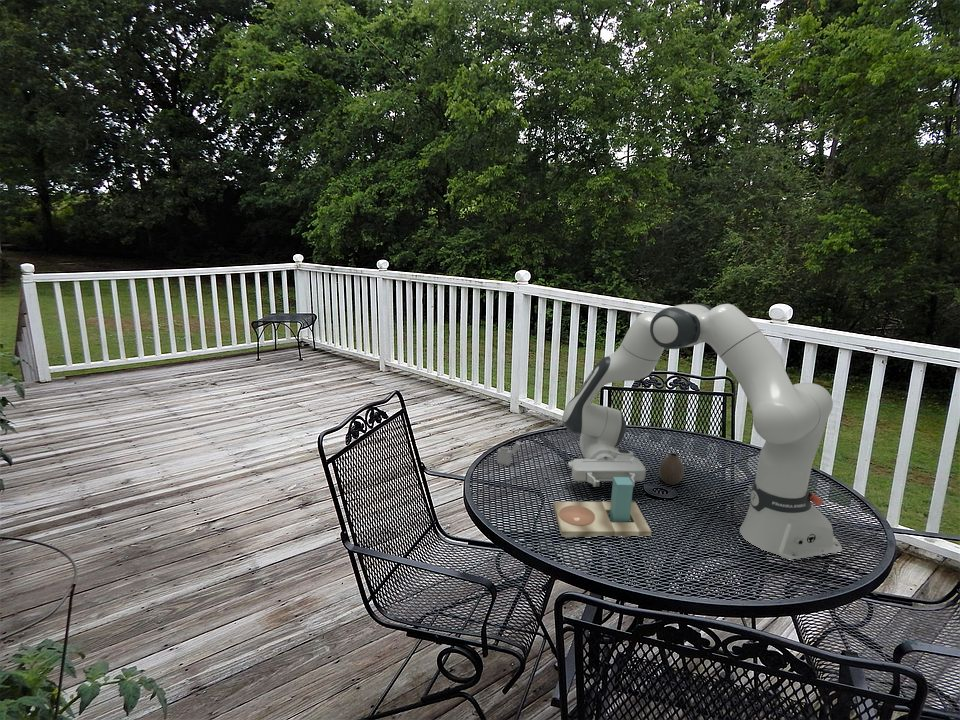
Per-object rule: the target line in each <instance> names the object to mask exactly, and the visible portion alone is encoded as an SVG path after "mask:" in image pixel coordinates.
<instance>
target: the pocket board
mask: <svg viewBox="0 0 960 720" xmlns="http://www.w3.org/2000/svg"><path fill="white" fill-rule="evenodd" d="M552 505H553V506H552V509H553V512H554V516H556V517H555V520H556V524H557V523H558V524H557V526H559V528H558V530H560V531H559V534H560V533H561V535H560V537H561V536H562V537H575V536H576V537H577V536H578V537H591V536H592V537H593V536H620V537H621V536H622V537H628V536H629V537H630V536H651V537H652V529H651V528H650V526H649V524H648V522H647V521H646V519H645V518H644V516H643V514H642V512H641V510H640V508H639V506H638V504H637V503H636V501H632V502H631V512H630V520H631V522H630V521H629V522H611V521H610V519H609V518H610V516H608V515H610V507H611V501H553V504H552ZM567 506H582V507H585V508H587V509H589V510H591V511H592V512H593V513H594V515H595V520H594V521H593V522H592V523H591V524H589V525H584V526H577V525H572V524H569V523H566V522H565V521H563V520H562V519H561V518H560V516H559V512H560V510H561V509H562V508H564V507H567Z"/></svg>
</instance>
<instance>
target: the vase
mask: <svg viewBox="0 0 960 720" xmlns="http://www.w3.org/2000/svg"><path fill="white" fill-rule="evenodd" d="M684 467H685V466H684V463H683V462H682V461H681V459H680V457H679V455H678V453H675V452H670V453H668V455H667V456H666V457H665V458H664V459H663V460H662V461H661V462H660V465H659V469H658V473H659V478H660V479H661V480H662V482H664V483H665V484H667V485H673V486H675V485H677V484H679V483H680V482H682V480H683V477H684V474H685V468H684Z"/></svg>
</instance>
